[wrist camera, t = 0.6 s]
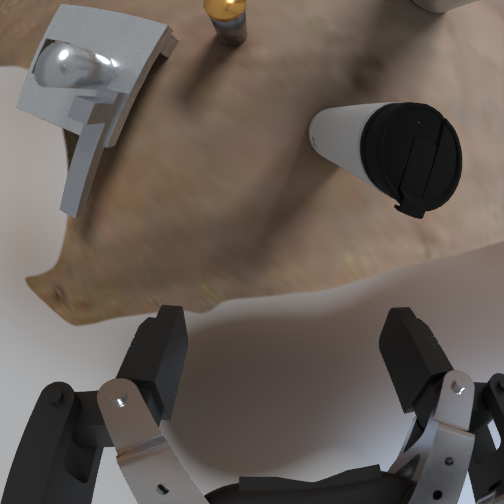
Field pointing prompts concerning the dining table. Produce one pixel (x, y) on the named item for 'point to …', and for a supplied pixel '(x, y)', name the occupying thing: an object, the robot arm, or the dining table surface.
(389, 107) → the travel mug
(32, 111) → the grey metal bracket
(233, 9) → the pin
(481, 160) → the dining table surface
